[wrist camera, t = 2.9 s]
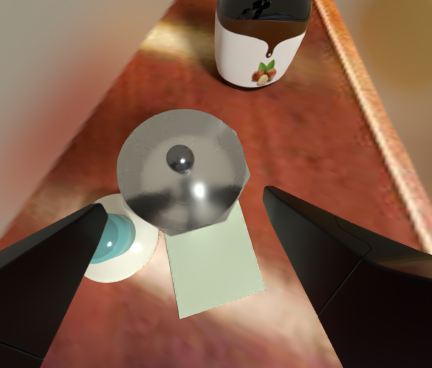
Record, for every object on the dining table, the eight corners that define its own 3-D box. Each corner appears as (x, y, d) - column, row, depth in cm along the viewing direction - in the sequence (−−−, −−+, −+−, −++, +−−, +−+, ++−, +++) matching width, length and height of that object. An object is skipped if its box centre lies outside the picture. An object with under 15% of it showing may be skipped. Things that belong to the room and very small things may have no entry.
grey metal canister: (234, 216, 17) (276, 208, 7) (173, 234, 17) (104, 256, 6) (218, 160, 19) (229, 78, 8) (161, 174, 18) (90, 104, 7)
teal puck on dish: (166, 265, 16) (155, 275, 13) (77, 292, 15) (44, 309, 12) (152, 186, 18) (140, 178, 15) (72, 205, 17) (43, 202, 14)
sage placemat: (264, 288, 16) (265, 290, 16) (180, 317, 15) (180, 319, 15) (225, 160, 19) (225, 159, 19) (154, 177, 19) (154, 176, 18)
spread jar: (214, 93, 22) (218, -43, 11) (212, 35, 25) (215, -121, 13) (295, 94, 23) (381, -35, 11) (285, 38, 25) (346, -111, 14)
